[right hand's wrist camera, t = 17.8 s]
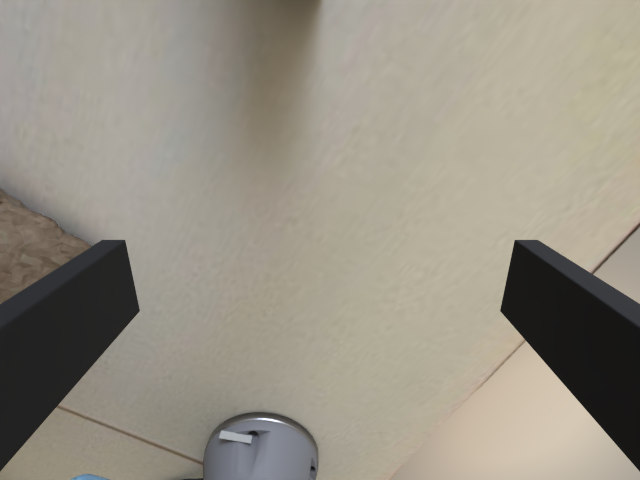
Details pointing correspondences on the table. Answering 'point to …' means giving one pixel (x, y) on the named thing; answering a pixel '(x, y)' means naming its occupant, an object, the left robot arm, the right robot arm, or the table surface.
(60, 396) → the right robot arm
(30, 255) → the stone
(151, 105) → the table surface
